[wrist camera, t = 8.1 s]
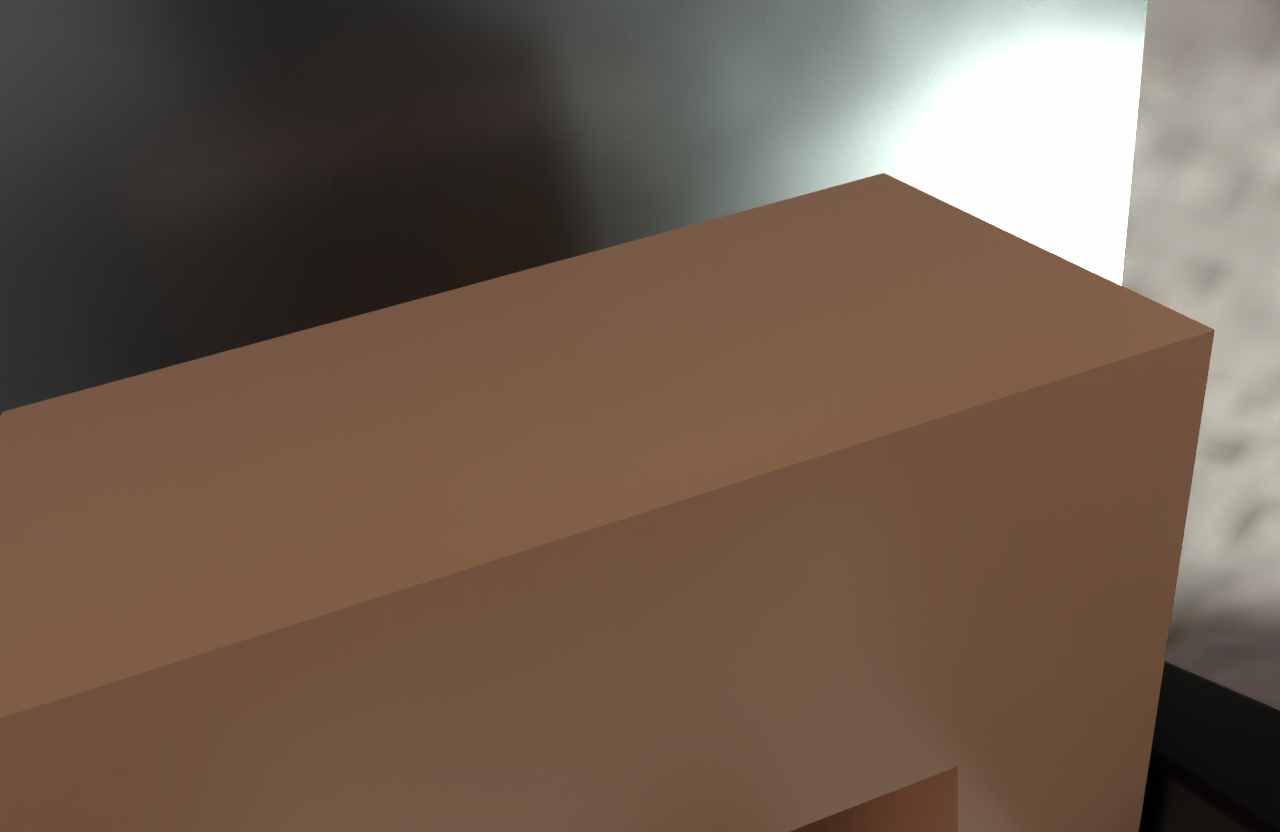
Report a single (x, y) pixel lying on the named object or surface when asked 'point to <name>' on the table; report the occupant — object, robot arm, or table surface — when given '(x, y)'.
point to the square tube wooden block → (621, 549)
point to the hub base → (498, 147)
